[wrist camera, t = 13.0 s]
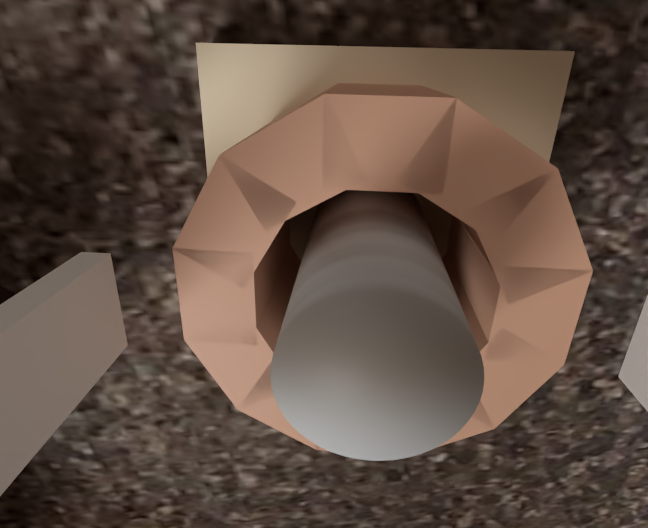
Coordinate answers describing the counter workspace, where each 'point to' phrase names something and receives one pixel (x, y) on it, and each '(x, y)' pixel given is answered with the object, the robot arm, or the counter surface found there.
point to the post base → (321, 67)
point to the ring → (388, 176)
